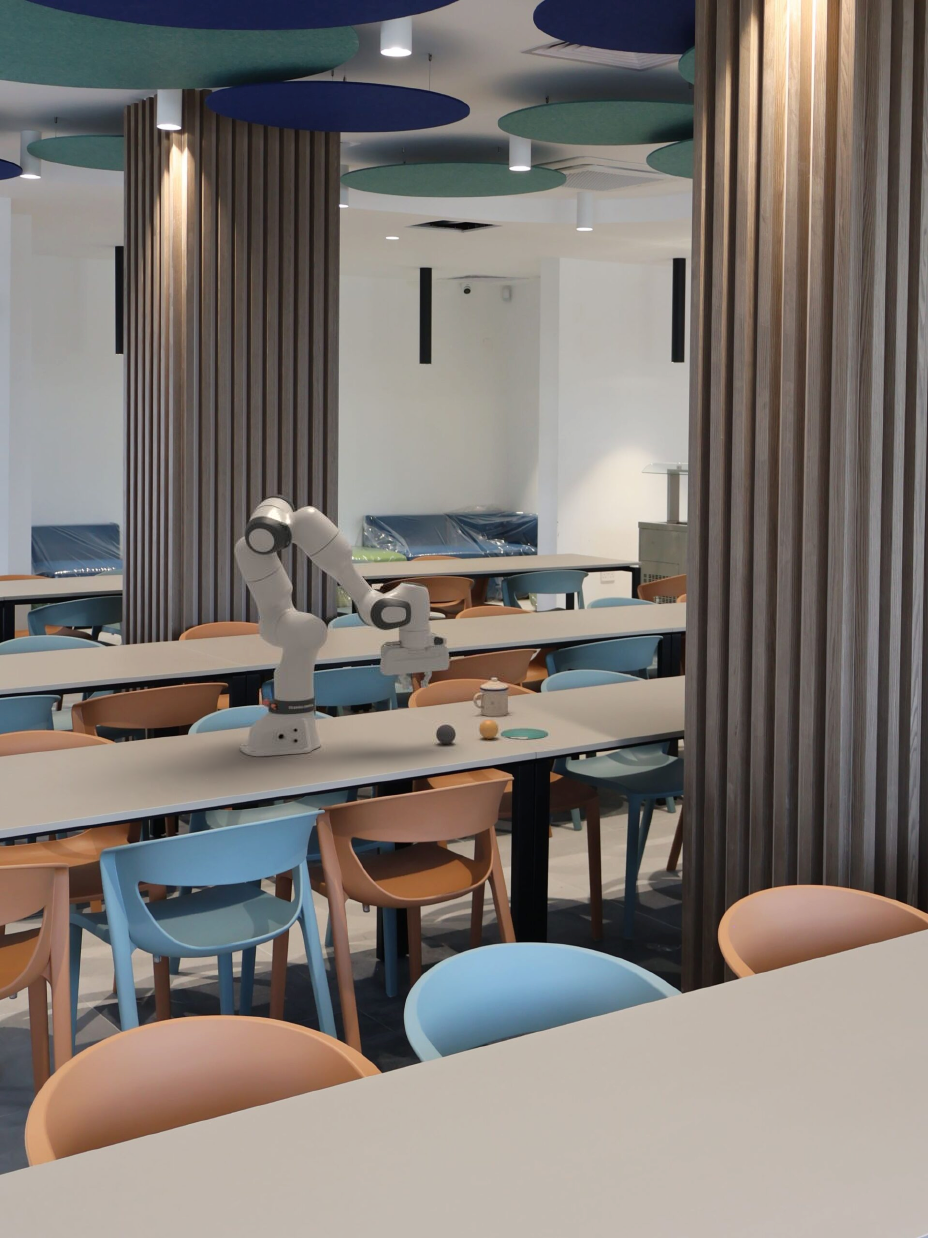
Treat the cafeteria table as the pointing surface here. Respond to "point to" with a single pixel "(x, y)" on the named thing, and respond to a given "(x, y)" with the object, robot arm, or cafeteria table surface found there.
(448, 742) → the dark grey ball
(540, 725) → the cafeteria table surface
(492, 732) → the object ball
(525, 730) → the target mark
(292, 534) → the robot arm
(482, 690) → the teacup with lid
